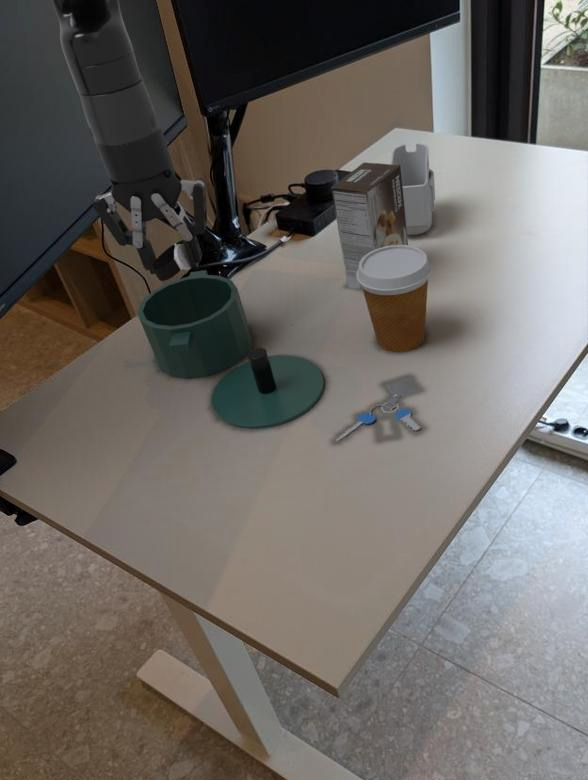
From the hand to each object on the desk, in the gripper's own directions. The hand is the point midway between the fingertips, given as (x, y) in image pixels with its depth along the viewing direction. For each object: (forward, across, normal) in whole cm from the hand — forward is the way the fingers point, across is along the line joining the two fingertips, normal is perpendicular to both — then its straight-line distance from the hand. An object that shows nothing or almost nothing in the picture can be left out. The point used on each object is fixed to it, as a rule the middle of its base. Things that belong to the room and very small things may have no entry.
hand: (175, 267), depth 89 cm
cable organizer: (+14, -33, -29) cm, 46 cm away
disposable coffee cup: (+14, -28, +4) cm, 31 cm away
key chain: (+13, -26, +20) cm, 36 cm away
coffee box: (+14, -26, -14) cm, 33 cm away
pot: (+13, 0, 0) cm, 13 cm away
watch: (+1, 0, 0) cm, 1 cm away
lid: (+13, -10, +12) cm, 20 cm away
